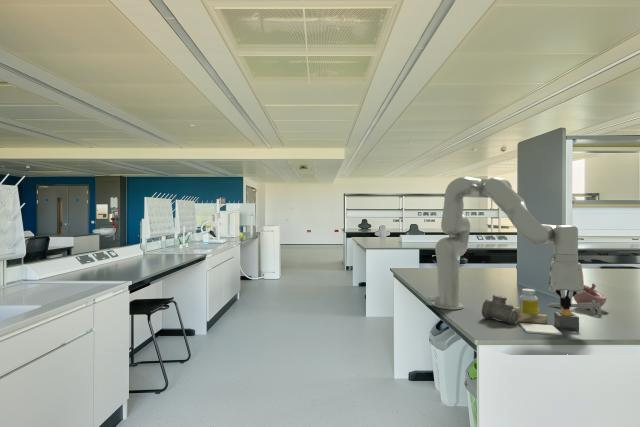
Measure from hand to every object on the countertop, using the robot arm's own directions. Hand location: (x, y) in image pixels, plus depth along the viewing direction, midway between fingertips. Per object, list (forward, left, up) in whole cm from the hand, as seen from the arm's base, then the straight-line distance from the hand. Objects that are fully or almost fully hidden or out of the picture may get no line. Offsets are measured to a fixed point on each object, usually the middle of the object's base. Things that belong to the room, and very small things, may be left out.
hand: (565, 308), depth 135 cm
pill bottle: (-10, +10, -8) cm, 16 cm away
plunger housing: (0, 0, -7) cm, 7 cm away
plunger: (0, 0, -5) cm, 5 cm away
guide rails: (-10, +10, -7) cm, 16 cm away
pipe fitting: (-21, +3, -8) cm, 23 cm away
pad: (-10, -5, -7) cm, 13 cm away
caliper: (+12, +30, -8) cm, 33 cm away
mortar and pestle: (+20, +35, -8) cm, 41 cm away
